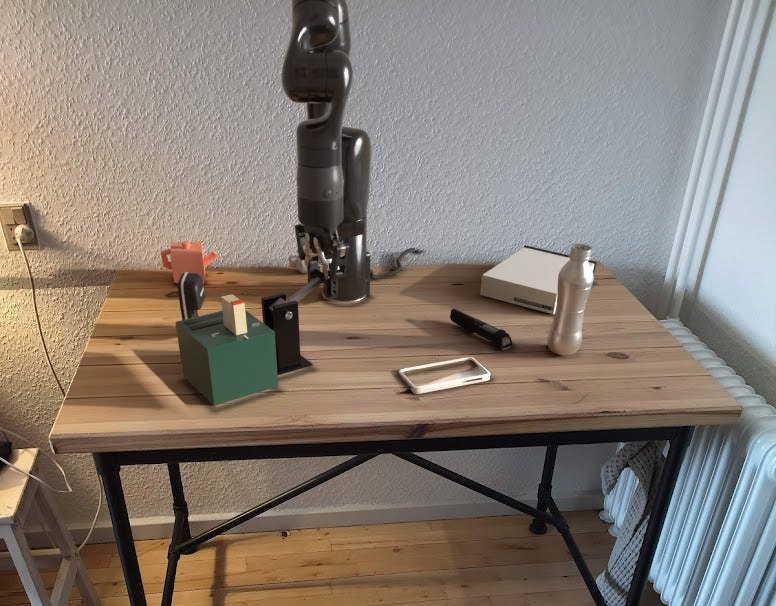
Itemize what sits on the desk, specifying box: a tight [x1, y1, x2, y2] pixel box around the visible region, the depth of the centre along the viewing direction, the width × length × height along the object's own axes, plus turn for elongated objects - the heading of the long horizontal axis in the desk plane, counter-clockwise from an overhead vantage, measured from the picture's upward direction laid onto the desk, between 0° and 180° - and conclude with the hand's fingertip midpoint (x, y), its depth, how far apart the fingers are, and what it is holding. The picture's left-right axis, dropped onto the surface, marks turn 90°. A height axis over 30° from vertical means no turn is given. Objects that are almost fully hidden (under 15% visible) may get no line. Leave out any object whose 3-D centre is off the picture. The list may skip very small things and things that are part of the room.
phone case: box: [398, 356, 491, 395], centre depth 137 cm, size 7×1×15 cm
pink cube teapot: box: [160, 240, 219, 285], centre depth 167 cm, size 8×12×8 cm, turn 102°
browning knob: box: [220, 294, 247, 335], centre depth 124 cm, size 4×2×5 cm, turn 36°
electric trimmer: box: [449, 308, 513, 351], centre depth 151 cm, size 4×16×3 cm, turn 39°
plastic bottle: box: [546, 243, 595, 356], centre depth 141 cm, size 6×7×20 cm
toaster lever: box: [268, 269, 325, 316], centre depth 133 cm, size 12×5×2 cm, turn 126°
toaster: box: [175, 309, 279, 406], centre depth 129 cm, size 12×12×11 cm
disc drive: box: [479, 244, 598, 315], centre depth 170 cm, size 18×22×5 cm
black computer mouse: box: [177, 272, 206, 320], centre depth 145 cm, size 7×4×11 cm, turn 2°
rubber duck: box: [288, 245, 307, 274], centre depth 173 cm, size 5×7×8 cm
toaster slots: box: [183, 312, 224, 330], centre depth 128 cm, size 9×4×1 cm, turn 126°
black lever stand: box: [260, 292, 313, 377], centre depth 135 cm, size 8×7×13 cm
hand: (322, 292), depth 135 cm, fingers closed on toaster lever, 5 cm apart
